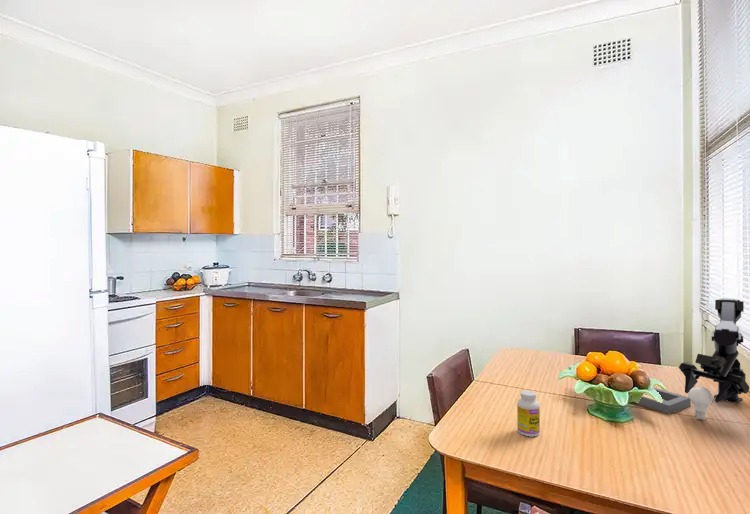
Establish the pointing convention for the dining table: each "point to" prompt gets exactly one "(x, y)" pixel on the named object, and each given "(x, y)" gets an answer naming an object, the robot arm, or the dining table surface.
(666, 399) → the socket block
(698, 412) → the lightbulb
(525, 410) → the supplement bottle
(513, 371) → the dining table surface
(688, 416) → the dining table surface
